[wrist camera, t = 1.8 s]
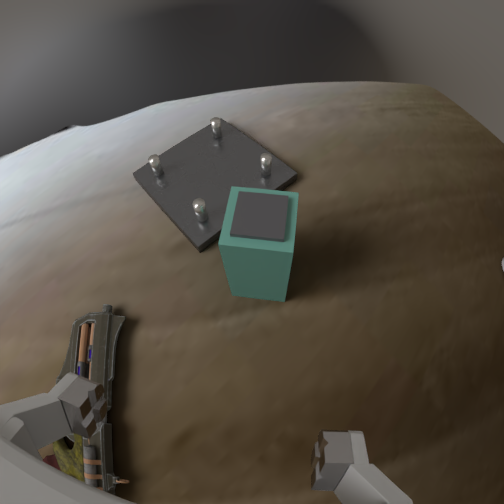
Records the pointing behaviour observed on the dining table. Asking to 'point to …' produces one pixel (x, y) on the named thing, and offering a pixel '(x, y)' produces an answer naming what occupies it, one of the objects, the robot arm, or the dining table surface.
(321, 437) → the robot arm
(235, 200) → the block
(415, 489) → the dining table surface
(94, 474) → the firearm
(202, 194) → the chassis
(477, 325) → the dining table surface
